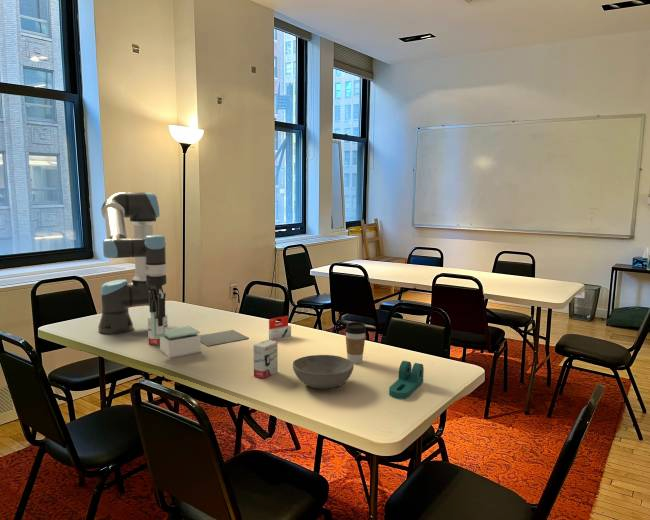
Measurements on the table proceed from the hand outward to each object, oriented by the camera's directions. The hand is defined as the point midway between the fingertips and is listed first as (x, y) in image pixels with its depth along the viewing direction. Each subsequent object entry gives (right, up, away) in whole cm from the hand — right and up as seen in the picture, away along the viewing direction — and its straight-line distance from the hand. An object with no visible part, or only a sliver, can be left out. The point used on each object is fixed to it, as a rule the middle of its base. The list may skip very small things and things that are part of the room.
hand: (157, 332), depth 198 cm
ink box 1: (-6, -7, +19) cm, 21 cm away
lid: (+5, -2, +4) cm, 7 cm away
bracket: (+94, -16, -28) cm, 100 cm away
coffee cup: (+79, -12, -2) cm, 80 cm away
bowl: (+66, -15, -26) cm, 73 cm away
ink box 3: (+46, -7, +28) cm, 54 cm away
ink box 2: (+45, -13, -17) cm, 50 cm away
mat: (+20, -6, +26) cm, 33 cm away
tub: (+7, -9, +7) cm, 13 cm away
